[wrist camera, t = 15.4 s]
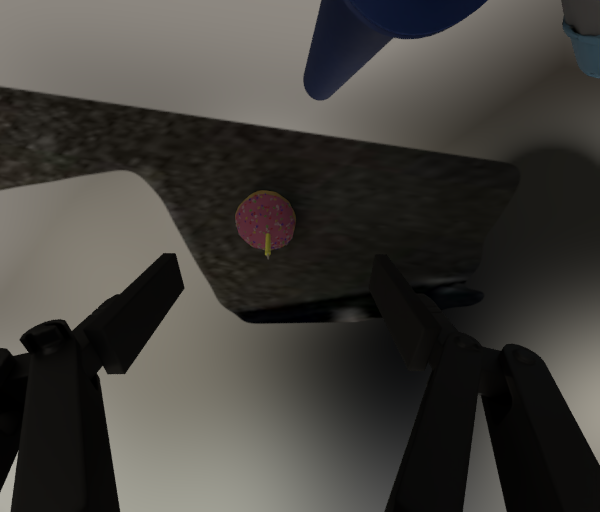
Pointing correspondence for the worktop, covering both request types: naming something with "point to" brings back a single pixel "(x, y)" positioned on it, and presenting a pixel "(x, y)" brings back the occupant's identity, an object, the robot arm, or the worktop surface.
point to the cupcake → (265, 220)
